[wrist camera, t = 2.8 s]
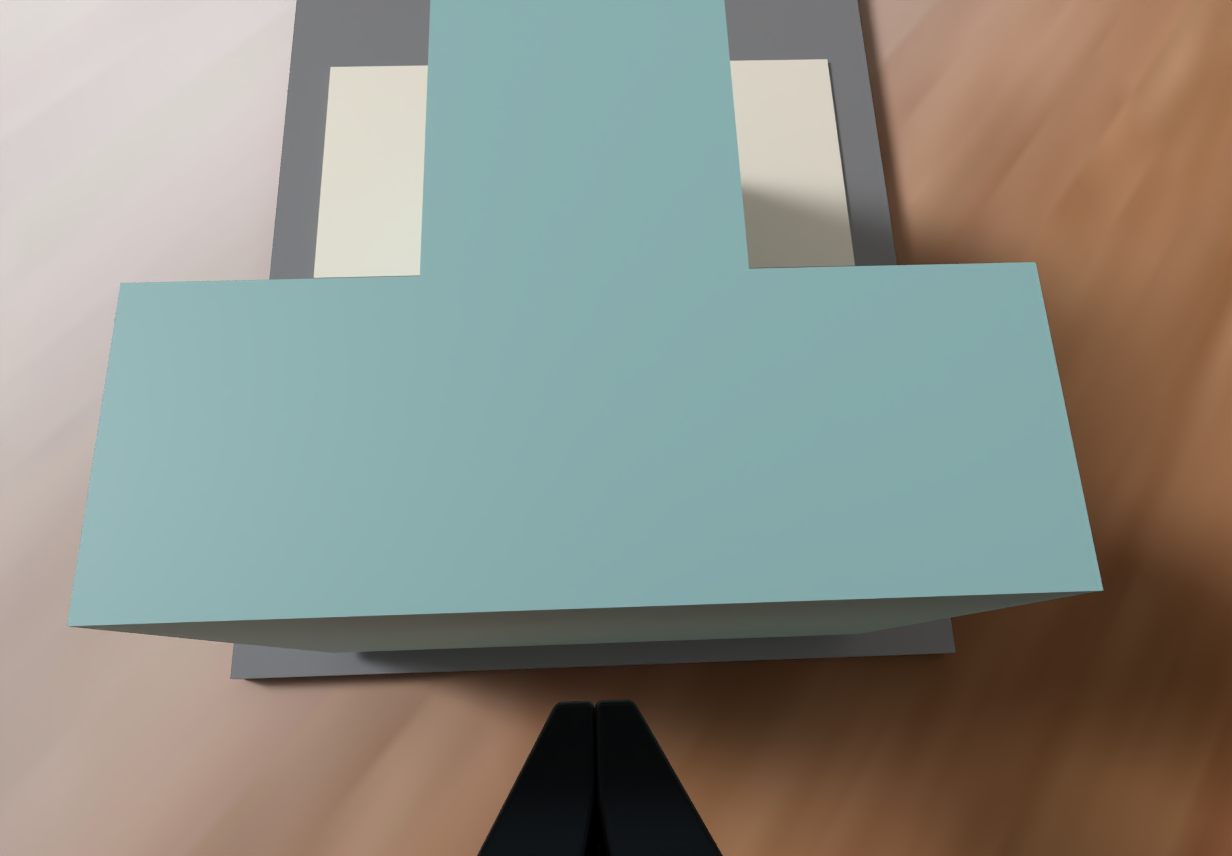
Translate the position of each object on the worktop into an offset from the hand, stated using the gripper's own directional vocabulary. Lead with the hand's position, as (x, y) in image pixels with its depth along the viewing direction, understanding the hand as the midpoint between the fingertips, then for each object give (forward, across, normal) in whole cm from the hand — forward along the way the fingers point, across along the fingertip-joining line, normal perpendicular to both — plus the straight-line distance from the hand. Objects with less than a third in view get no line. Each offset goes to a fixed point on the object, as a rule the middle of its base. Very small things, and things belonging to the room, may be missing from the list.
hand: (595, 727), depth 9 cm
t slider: (+9, 0, 0) cm, 9 cm away
